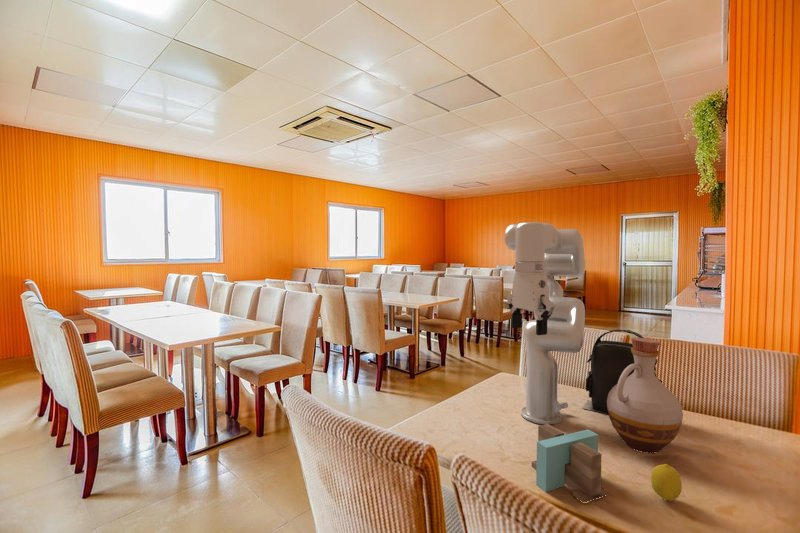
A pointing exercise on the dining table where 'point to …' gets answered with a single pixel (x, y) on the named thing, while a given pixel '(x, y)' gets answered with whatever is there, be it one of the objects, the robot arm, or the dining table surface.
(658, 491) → the lemon
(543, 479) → the teal notched arch
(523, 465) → the dining table surface
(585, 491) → the walnut stand
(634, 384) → the jug
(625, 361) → the shoulder bag
